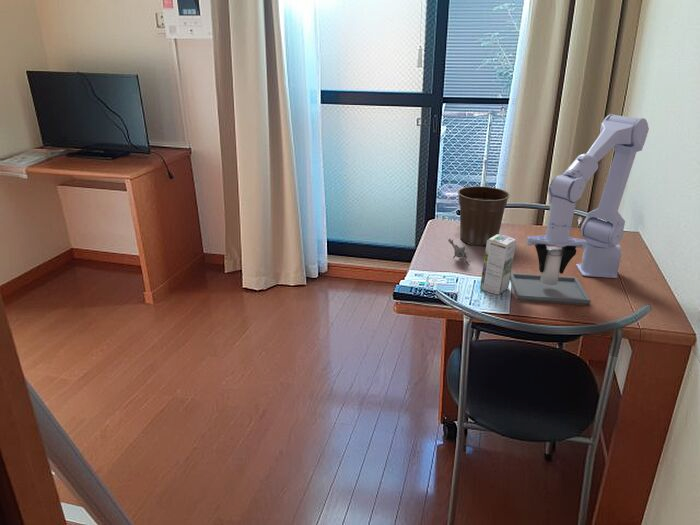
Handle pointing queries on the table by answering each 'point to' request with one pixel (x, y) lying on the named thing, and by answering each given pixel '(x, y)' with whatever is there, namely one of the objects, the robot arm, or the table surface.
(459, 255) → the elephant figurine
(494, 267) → the syrup box
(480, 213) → the plant pot
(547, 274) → the block
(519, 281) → the tray
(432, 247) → the table surface
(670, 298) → the table surface
